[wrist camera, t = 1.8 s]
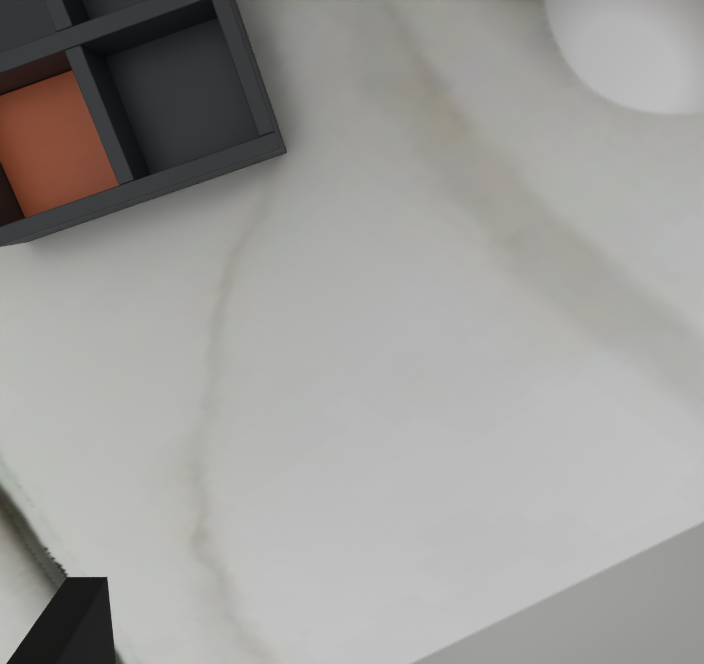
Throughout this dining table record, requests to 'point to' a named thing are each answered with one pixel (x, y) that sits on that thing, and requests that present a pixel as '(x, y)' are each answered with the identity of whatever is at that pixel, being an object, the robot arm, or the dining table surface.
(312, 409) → the dining table surface
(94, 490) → the dining table surface
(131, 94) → the grid
